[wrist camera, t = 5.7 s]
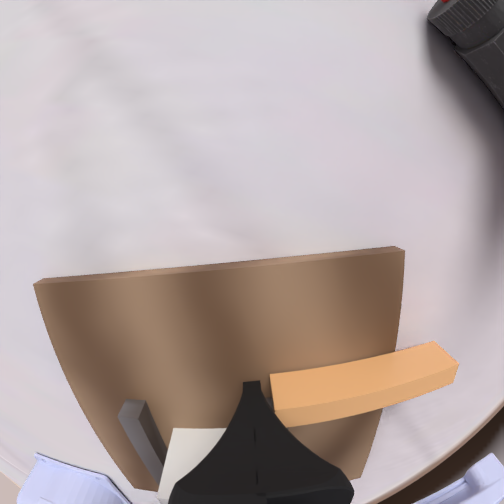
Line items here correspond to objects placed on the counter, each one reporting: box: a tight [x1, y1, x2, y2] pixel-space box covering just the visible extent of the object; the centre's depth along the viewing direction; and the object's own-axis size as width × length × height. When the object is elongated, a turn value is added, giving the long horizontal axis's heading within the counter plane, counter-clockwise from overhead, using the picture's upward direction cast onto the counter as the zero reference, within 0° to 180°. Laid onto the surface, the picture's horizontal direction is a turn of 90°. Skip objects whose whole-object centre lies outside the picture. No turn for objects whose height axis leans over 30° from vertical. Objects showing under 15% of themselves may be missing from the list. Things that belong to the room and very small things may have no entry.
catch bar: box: [270, 341, 459, 428], centre depth 11 cm, size 9×1×2 cm, turn 95°
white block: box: [157, 428, 227, 504], centre depth 11 cm, size 4×4×5 cm
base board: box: [33, 246, 405, 492], centre depth 13 cm, size 18×18×2 cm
